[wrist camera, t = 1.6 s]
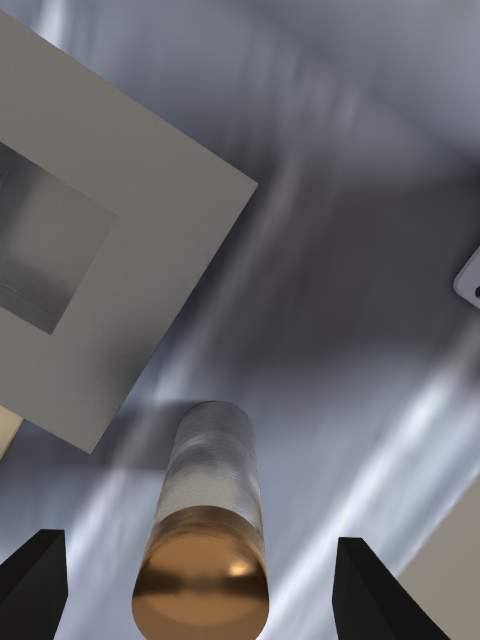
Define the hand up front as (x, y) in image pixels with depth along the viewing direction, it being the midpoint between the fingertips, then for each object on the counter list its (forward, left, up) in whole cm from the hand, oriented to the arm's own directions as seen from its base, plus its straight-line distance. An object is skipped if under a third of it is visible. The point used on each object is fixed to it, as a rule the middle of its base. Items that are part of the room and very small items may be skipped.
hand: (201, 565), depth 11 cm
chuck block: (+14, -4, -7) cm, 16 cm away
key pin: (0, 0, -7) cm, 7 cm away
